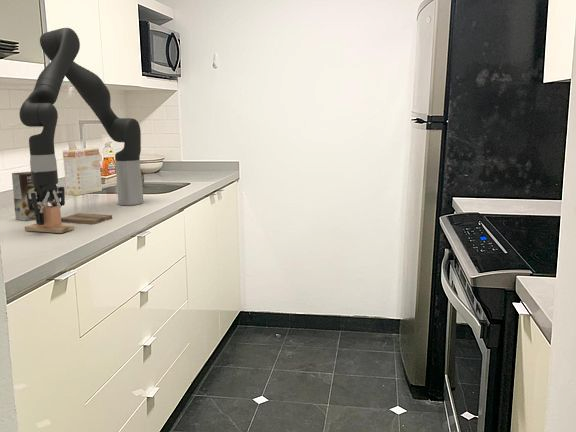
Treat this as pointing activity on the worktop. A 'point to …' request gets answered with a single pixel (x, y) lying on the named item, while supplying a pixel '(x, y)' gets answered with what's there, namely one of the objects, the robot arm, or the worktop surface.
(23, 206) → the coffee box
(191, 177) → the worktop surface
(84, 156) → the coffeecake box
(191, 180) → the worktop surface
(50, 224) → the stub
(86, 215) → the brown notebook
